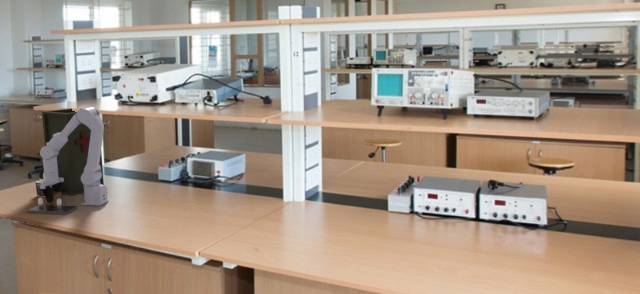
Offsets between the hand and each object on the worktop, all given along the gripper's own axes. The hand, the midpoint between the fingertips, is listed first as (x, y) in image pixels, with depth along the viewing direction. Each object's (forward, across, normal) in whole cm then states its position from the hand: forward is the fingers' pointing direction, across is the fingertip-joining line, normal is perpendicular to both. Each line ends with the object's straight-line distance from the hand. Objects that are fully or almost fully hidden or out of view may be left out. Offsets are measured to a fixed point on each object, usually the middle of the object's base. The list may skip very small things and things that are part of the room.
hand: (53, 200), depth 259 cm
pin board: (+1, +11, +7) cm, 13 cm away
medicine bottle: (+2, -13, -12) cm, 18 cm away
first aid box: (+2, -26, -5) cm, 27 cm away
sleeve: (+1, 0, 0) cm, 1 cm away
